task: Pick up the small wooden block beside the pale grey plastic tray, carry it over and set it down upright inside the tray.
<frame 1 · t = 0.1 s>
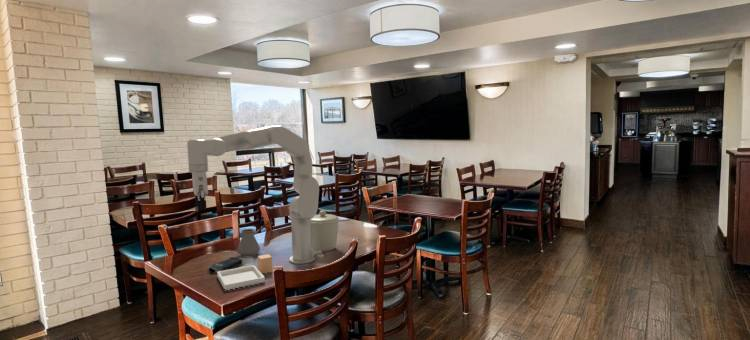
hand: (200, 207, 173), 31 cm above the table, tool pointing down, fingers open, 9 cm apart
electronic device: (224, 269, 189), on the table
canister: (323, 249, 217), on the table
tray: (240, 280, 173), on the table
coffee pot: (256, 252, 212), on the table
block: (265, 271, 184), on the table
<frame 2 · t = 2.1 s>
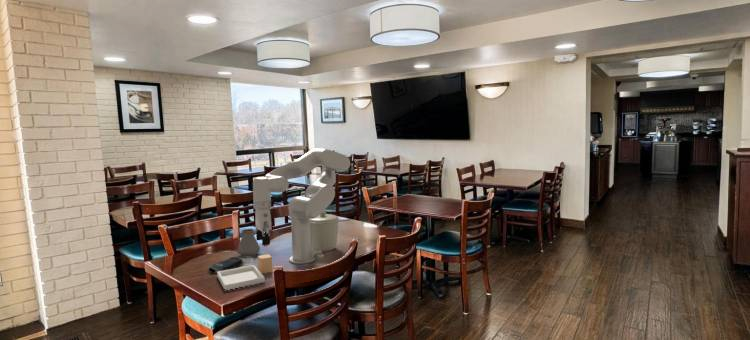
hand: (263, 242, 182), 14 cm above the table, tool pointing down, fingers open, 9 cm apart
nothing on the table moved.
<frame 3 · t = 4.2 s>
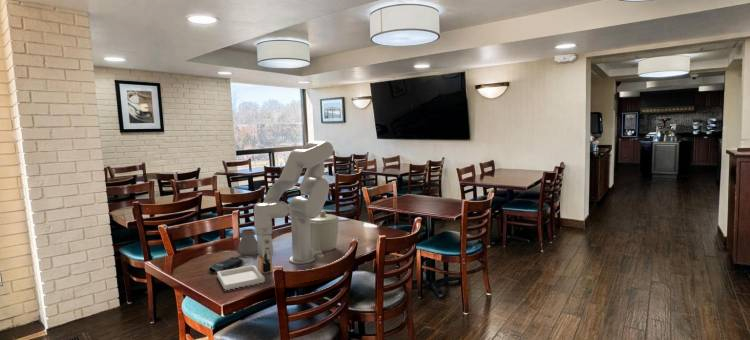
hand: (265, 269, 184), 1 cm above the table, tool pointing down, fingers closed on block, 5 cm apart
block: (265, 271, 184), on the table, touching gripper
everything else where it was.
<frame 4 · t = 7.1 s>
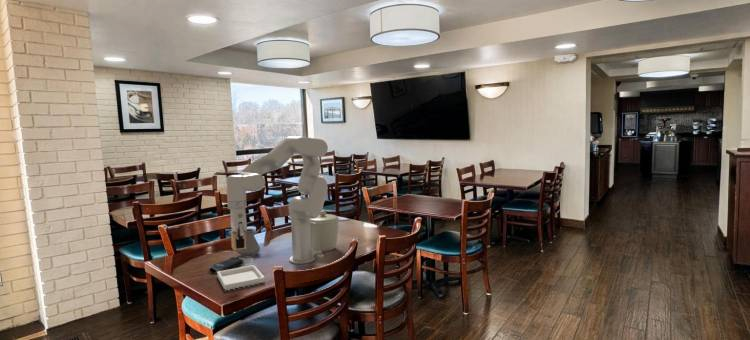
hand: (238, 245, 172), 15 cm above the table, tool pointing down, fingers closed on block, 5 cm apart
block: (239, 248, 172), point 14 cm above the table, touching gripper
everything else where it was.
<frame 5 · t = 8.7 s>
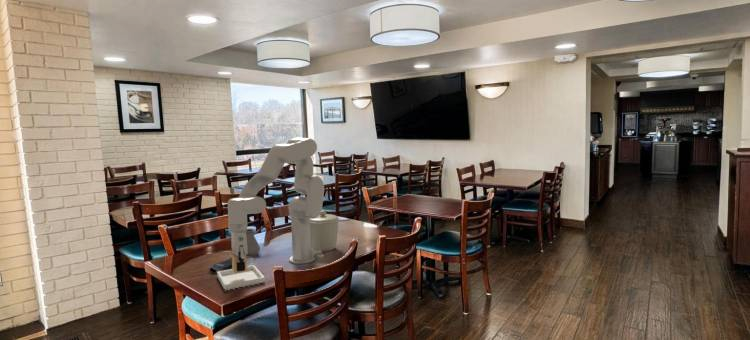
hand: (239, 268, 173), 5 cm above the table, tool pointing down, fingers closed on block, 5 cm apart
block: (239, 270, 173), point 4 cm above the table, touching gripper
everything else where it was.
when the fingers open (3 cm above the table, at t = 10.0 s): block drops 1 cm, resting on tray.
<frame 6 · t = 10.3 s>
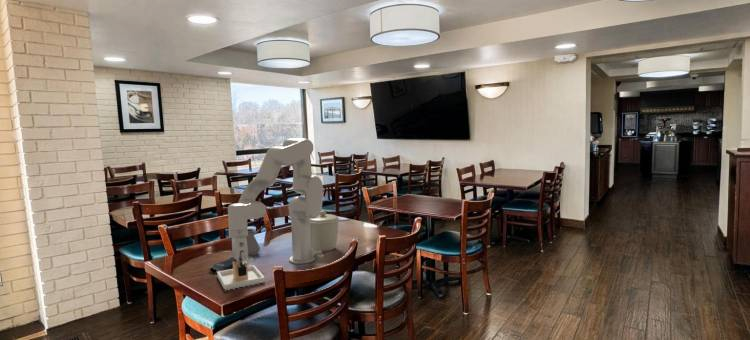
hand: (240, 272, 173), 3 cm above the table, tool pointing down, fingers open, 7 cm apart
block: (240, 278, 173), point 1 cm above the table, touching tray
everything else where it was.
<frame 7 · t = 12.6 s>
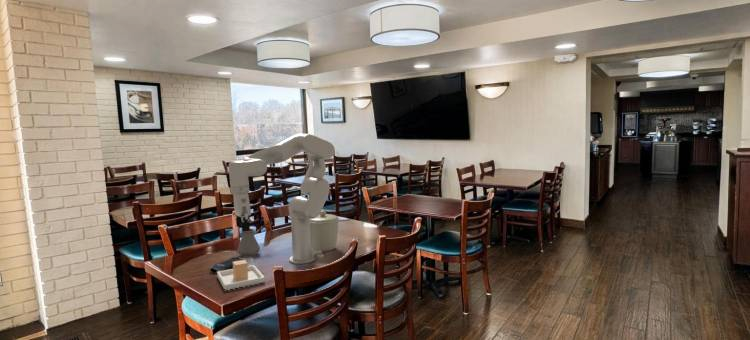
hand: (243, 228, 175), 22 cm above the table, tool pointing down, fingers open, 9 cm apart
nothing on the table moved.
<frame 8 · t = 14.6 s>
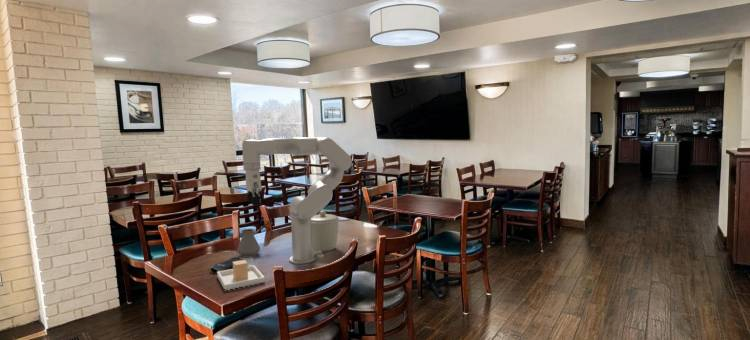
hand: (253, 203, 186), 30 cm above the table, tool pointing down, fingers open, 9 cm apart
at the end: block inside the target area on the tray (0.1 cm from its centre), point 0.8 cm above the tray's base; block tilted 0°; the gripper is holding nothing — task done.
